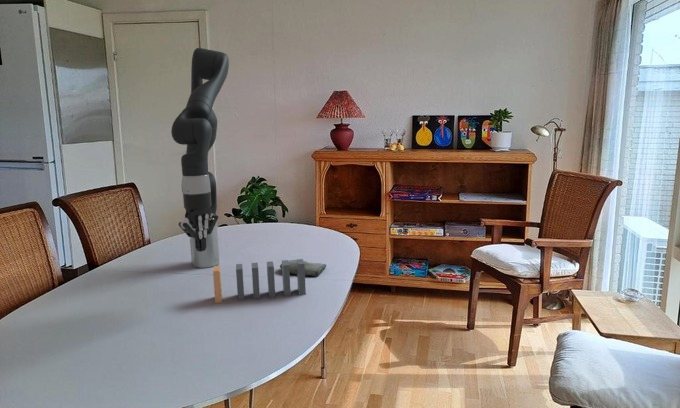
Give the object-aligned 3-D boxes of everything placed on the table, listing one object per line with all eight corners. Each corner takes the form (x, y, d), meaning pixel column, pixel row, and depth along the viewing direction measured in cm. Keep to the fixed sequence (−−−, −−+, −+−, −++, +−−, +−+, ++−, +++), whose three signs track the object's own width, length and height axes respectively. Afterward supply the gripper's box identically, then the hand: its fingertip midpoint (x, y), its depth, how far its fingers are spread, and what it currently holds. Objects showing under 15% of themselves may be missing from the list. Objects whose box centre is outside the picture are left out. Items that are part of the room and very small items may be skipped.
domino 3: (253, 299, 147) (251, 268, 145) (253, 293, 152) (251, 263, 150) (259, 298, 147) (258, 267, 145) (259, 292, 152) (257, 262, 150)
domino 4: (269, 297, 148) (267, 266, 146) (268, 291, 153) (266, 261, 151) (275, 297, 148) (273, 266, 146) (274, 291, 153) (272, 261, 151)
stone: (274, 274, 168) (316, 283, 165) (275, 263, 167) (317, 272, 163) (287, 261, 178) (327, 270, 174) (288, 250, 177) (328, 259, 173)
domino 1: (215, 302, 145) (212, 271, 143) (216, 296, 150) (213, 266, 148) (221, 302, 145) (219, 270, 143) (222, 296, 150) (220, 265, 148)
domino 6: (299, 294, 149) (298, 264, 148) (297, 289, 154) (296, 259, 152) (305, 294, 150) (304, 263, 148) (303, 288, 155) (302, 258, 153)
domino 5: (284, 296, 149) (283, 265, 147) (283, 290, 153) (281, 260, 152) (290, 295, 149) (289, 265, 147) (289, 289, 154) (287, 260, 152)
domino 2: (238, 300, 146) (235, 269, 144) (238, 294, 151) (236, 264, 149) (244, 300, 146) (242, 268, 145) (244, 294, 151) (242, 263, 149)
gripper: (186, 195, 133) (191, 258, 136) (223, 188, 144) (227, 246, 147) (168, 193, 137) (173, 254, 140) (205, 186, 148) (209, 243, 151)
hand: (201, 250), depth 144 cm, fingers closed
